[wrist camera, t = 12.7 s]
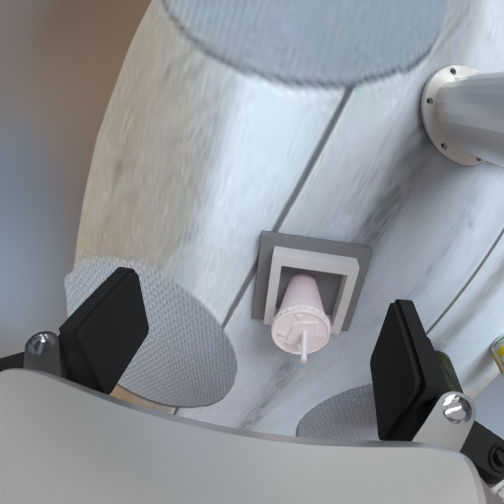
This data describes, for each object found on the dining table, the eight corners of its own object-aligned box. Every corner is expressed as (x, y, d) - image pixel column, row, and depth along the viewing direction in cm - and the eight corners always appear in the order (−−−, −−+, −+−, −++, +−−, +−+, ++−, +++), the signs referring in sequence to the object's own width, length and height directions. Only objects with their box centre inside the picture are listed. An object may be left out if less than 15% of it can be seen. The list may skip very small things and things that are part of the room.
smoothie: (336, 286, 39) (346, 364, 26) (301, 313, 42) (297, 392, 29) (303, 254, 38) (300, 328, 25) (267, 284, 40) (251, 361, 28)
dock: (370, 246, 37) (376, 260, 34) (346, 325, 43) (349, 342, 40) (262, 230, 38) (258, 242, 35) (253, 312, 44) (249, 329, 41)
